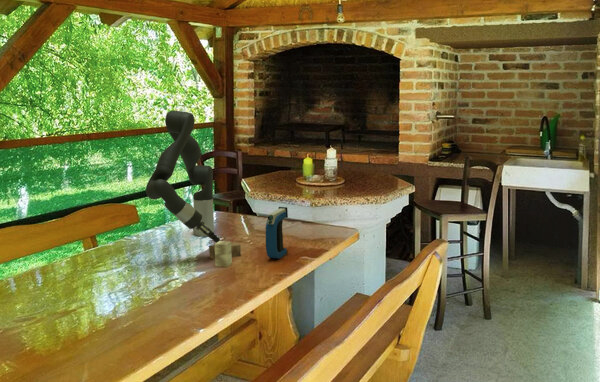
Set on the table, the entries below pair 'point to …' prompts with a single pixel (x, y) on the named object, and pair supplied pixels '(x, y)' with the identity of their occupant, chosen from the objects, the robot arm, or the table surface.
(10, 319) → the table surface
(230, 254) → the beech block
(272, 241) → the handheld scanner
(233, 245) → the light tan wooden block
